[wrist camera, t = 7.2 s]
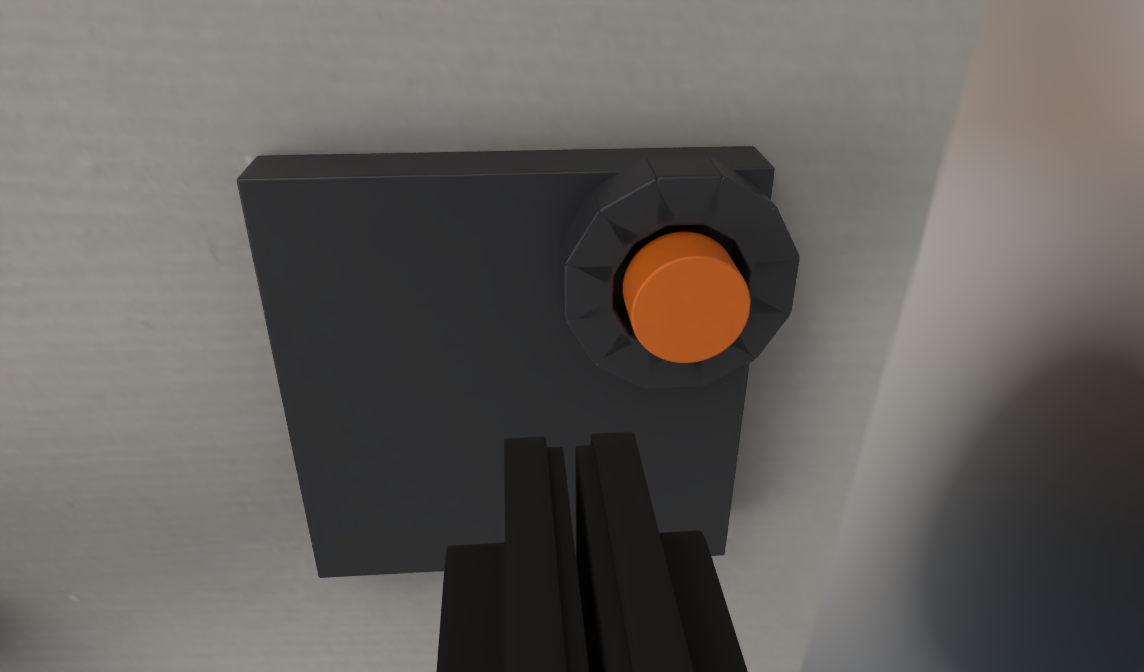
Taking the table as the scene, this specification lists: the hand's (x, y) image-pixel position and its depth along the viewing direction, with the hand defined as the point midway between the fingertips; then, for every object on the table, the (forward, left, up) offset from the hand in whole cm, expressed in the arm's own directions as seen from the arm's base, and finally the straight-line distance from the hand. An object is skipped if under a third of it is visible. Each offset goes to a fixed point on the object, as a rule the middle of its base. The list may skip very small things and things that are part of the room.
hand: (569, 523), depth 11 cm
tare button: (+1, +3, -10) cm, 10 cm away
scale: (+5, 0, -13) cm, 14 cm away
